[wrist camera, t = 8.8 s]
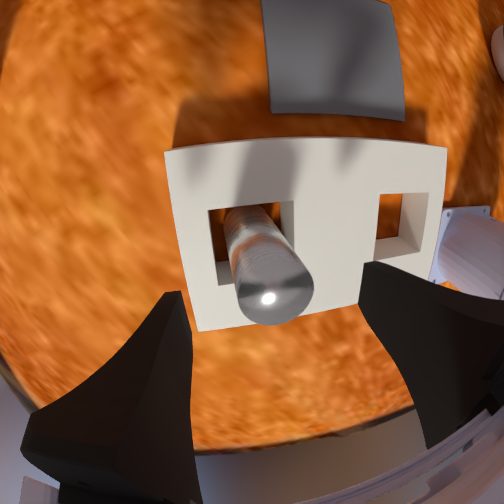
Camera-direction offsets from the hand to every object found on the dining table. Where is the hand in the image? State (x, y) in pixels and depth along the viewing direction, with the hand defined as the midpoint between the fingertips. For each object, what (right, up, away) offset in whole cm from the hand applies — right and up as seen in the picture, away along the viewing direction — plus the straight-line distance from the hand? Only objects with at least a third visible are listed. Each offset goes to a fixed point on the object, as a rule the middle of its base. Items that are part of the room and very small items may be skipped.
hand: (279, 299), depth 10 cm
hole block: (+4, +4, +8) cm, 10 cm away
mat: (+5, +15, +3) cm, 16 cm away
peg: (-1, +4, +7) cm, 8 cm away
